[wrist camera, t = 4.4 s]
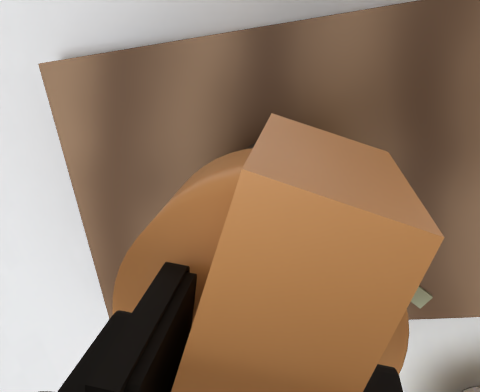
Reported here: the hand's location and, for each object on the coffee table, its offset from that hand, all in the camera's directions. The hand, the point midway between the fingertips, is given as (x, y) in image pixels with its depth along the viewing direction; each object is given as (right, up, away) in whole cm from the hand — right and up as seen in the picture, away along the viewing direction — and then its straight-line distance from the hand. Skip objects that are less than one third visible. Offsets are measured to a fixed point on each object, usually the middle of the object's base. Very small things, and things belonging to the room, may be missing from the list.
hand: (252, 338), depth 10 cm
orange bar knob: (+1, +1, +4) cm, 4 cm away
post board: (+2, +4, +12) cm, 13 cm away
